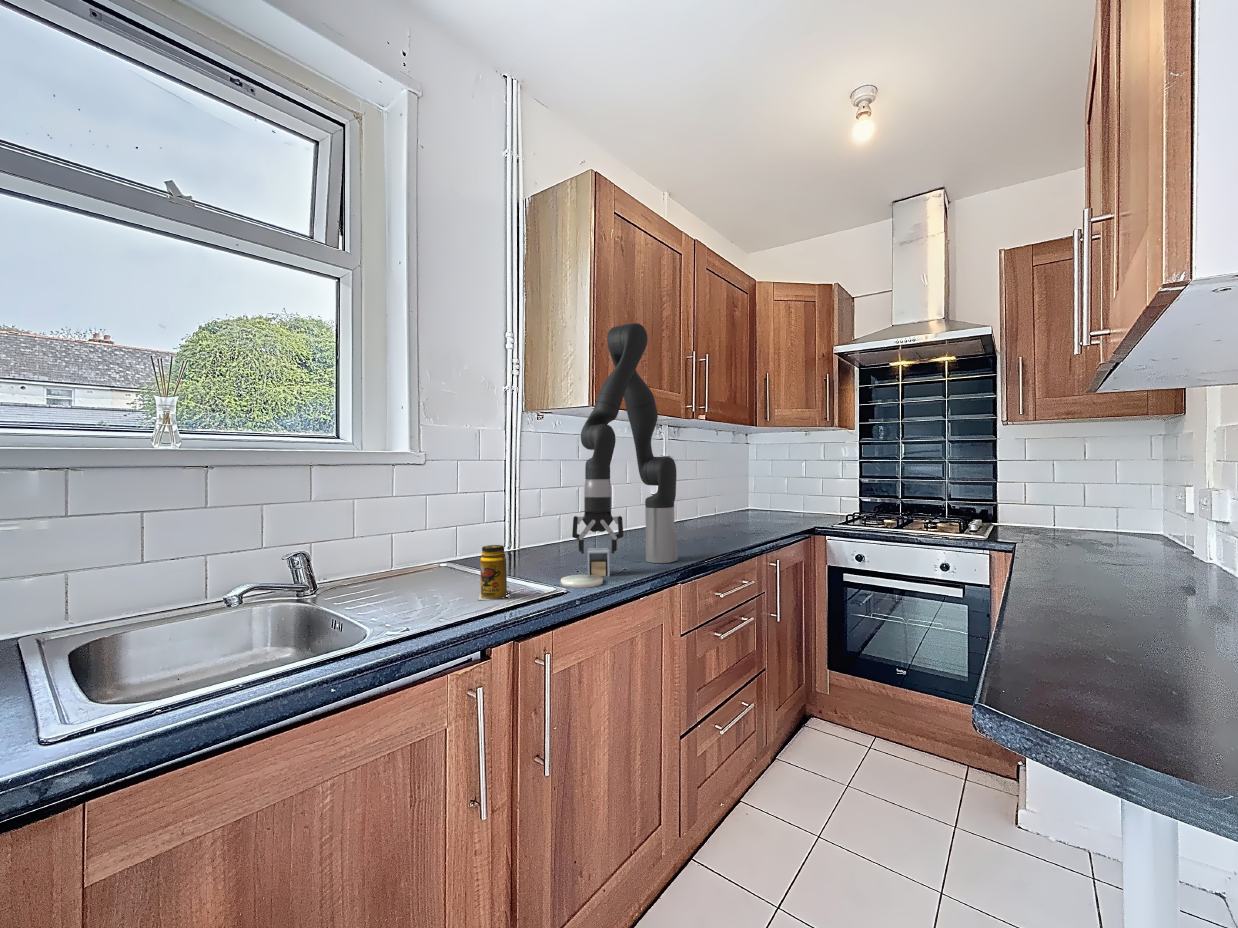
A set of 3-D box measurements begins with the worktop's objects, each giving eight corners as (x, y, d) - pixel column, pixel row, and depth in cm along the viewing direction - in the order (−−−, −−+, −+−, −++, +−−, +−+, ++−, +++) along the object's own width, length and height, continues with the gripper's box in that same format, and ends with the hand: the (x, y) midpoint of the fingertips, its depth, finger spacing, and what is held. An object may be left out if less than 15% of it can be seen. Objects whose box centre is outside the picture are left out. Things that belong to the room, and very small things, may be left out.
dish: (589, 577, 153) (589, 572, 153) (610, 584, 144) (610, 579, 144) (553, 582, 147) (553, 577, 147) (573, 589, 138) (573, 584, 138)
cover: (588, 572, 160) (587, 548, 160) (608, 572, 160) (608, 547, 160) (587, 576, 154) (587, 551, 154) (609, 576, 154) (609, 551, 154)
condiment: (478, 600, 129) (477, 548, 129) (479, 592, 137) (479, 543, 137) (510, 598, 130) (509, 547, 130) (510, 590, 138) (509, 542, 138)
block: (591, 573, 159) (591, 559, 159) (605, 573, 159) (605, 559, 159) (591, 576, 155) (591, 562, 155) (605, 576, 155) (605, 561, 155)
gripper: (572, 496, 153) (571, 555, 152) (623, 495, 154) (623, 554, 153) (572, 495, 160) (572, 551, 160) (622, 494, 161) (622, 551, 161)
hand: (597, 553), depth 157 cm, fingers open, 8 cm apart
